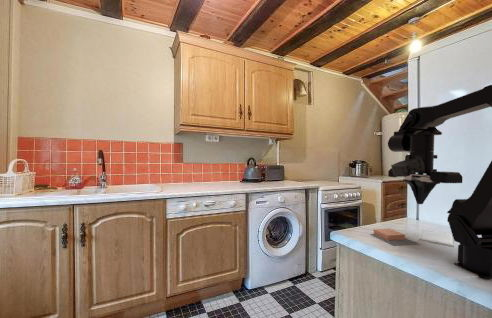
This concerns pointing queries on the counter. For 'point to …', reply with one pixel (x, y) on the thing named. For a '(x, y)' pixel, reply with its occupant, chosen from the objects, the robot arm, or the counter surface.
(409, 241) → the mat
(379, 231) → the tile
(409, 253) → the counter surface
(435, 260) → the counter surface
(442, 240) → the hard drive
